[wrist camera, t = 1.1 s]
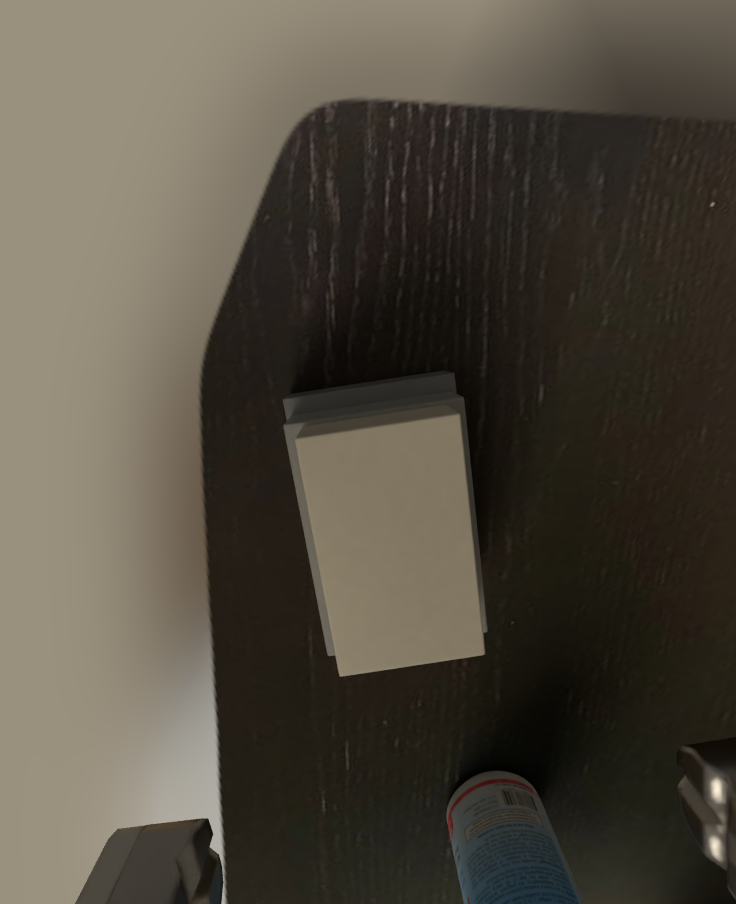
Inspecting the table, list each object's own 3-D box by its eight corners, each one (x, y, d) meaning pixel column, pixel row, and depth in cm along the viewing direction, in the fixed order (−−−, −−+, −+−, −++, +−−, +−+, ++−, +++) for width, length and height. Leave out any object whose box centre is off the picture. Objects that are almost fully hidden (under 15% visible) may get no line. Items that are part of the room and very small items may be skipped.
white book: (301, 426, 19) (294, 438, 16) (446, 404, 19) (460, 412, 16) (340, 639, 21) (339, 677, 19) (470, 619, 21) (485, 655, 19)
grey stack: (289, 393, 23) (272, 405, 19) (444, 370, 23) (468, 376, 19) (328, 603, 26) (323, 661, 21) (467, 581, 26) (493, 635, 21)
